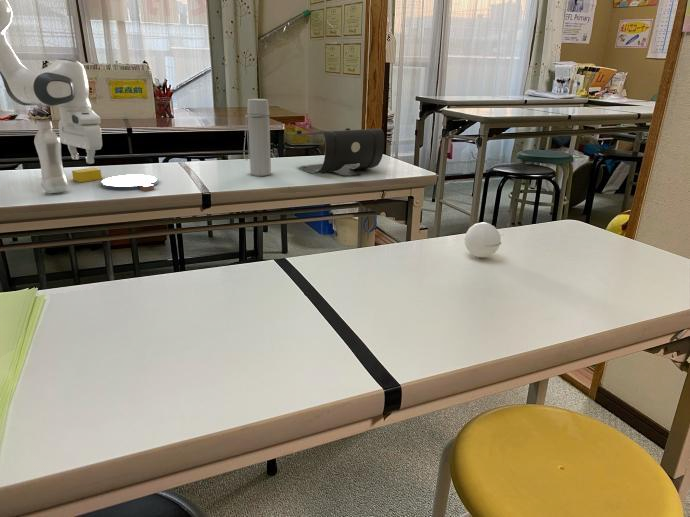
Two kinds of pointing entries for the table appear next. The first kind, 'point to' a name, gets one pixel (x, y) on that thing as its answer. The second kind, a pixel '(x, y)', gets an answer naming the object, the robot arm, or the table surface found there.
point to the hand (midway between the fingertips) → (82, 161)
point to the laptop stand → (349, 151)
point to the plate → (127, 182)
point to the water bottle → (258, 137)
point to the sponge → (86, 174)
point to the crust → (146, 187)
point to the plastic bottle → (50, 158)
